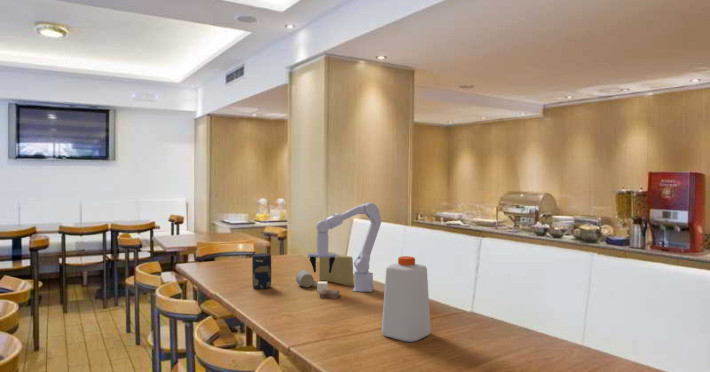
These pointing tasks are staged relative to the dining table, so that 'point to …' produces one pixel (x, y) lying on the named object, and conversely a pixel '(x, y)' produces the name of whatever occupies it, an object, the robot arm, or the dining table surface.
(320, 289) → the cream cube
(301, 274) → the ceramic mug
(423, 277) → the plastic bottle
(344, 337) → the dining table surface
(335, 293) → the walnut base
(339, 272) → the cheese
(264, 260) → the canister
